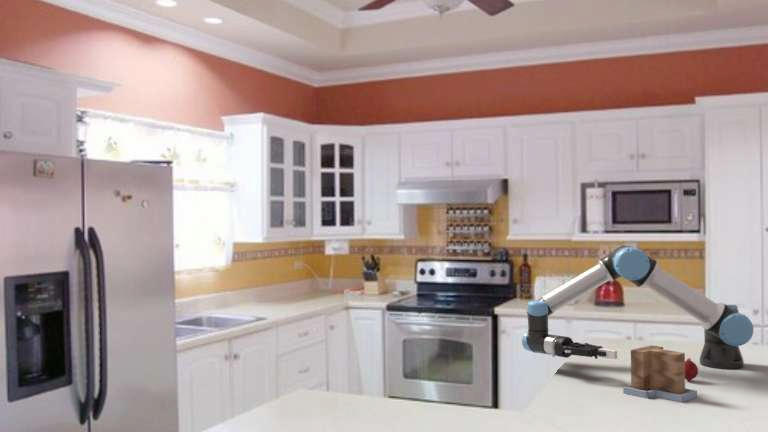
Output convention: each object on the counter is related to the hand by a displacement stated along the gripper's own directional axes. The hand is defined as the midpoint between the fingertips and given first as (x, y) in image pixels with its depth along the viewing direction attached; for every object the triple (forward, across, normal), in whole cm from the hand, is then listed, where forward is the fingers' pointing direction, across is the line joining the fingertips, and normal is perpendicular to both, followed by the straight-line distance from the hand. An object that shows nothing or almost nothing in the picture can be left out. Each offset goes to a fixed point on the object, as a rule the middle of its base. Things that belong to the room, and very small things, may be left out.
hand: (615, 355), depth 242 cm
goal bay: (+17, 0, -10) cm, 20 cm away
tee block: (+16, 0, -10) cm, 19 cm away
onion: (+14, -22, -11) cm, 29 cm away
